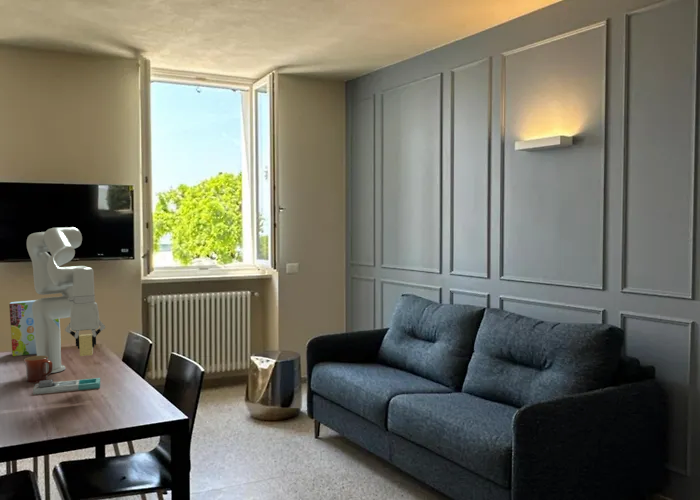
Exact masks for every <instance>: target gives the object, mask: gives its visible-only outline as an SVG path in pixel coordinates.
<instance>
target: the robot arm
mask: <svg viewBox="0 0 700 500" xmlns="http://www.w3.org/2000/svg"><path fill="white" fill-rule="evenodd" d="M82 235H83V234H82V233H81V231H80V229H78V228H76V227H74V226H70V227H68V226H65V227H52V228H48V229H47V230H46V231H41V232H40V231H39V232H33V233H31V234H29V235H28V236H27V239H26V249H27V252H28V255H29V257H30V260H31V263H32V271H33V272H32V273H33V285H34V290H35V293H36V294H38V295H55V294H56V295H57V294H62V296H51V297H42V298H37V299H35V300H36V301H35V302H34V303H33V305H32V312H33V316H34V322H35V331H36V353H37V354H36V356H48V360H50V361H51V362H52V364H53V369H52V372H51V373H50V374H54V373H55V374H56V373H60V372H62V371H65V370H66V365H63V364H62V351H61V348H62V345H61V346H60V335H61V328H60V329H59V327H58V326H57V325H56V324H55V323H54V322H53V320H54V319H67V318H70V322H69V323H68V325H67V326H66V328H65V329H64V331H65V332H66V333H67V334H70V335H71V336H72V337H74V339H75V347H77V349H78V350H80V347H79V335H80V331H91V334H92V347H93V349H94V348H95V346H96V345H97V336H98V335H99V334H100V333H101V332H102V331H103V330H105V329H106V326H105V324H104V323H103V322H102V320H101V319H100V313H99V306H98V303H97V302H96V296H95V272H94V269H93V268H92V267H89V266H87V265H86V266H85V265H76V266H75V265H73V266H63V265H65V264H67V263H69V262H71V261H72V260H73V259H74V257H75V254H76V250H75V249H77V248H79V247H80V246H81V245H82V241H83V236H82ZM49 253H50V254H49ZM46 367H47V373H48V371H49V364H48V363H47V365H46Z"/></svg>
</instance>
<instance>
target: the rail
mask: <svg viewBox="0 0 700 500" xmlns="http://www.w3.org/2000/svg"><path fill="white" fill-rule="evenodd" d="M96 389H97V390H98V389H101V377H95V378H83V379H82V378H81V379H75V380H73V379H72V380H63V381H53V387H43V388H39V383H34V386H33V388H32V395H33V396H35V395H44V394H52V393H65V392H73V391H85V390H96Z"/></svg>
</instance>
